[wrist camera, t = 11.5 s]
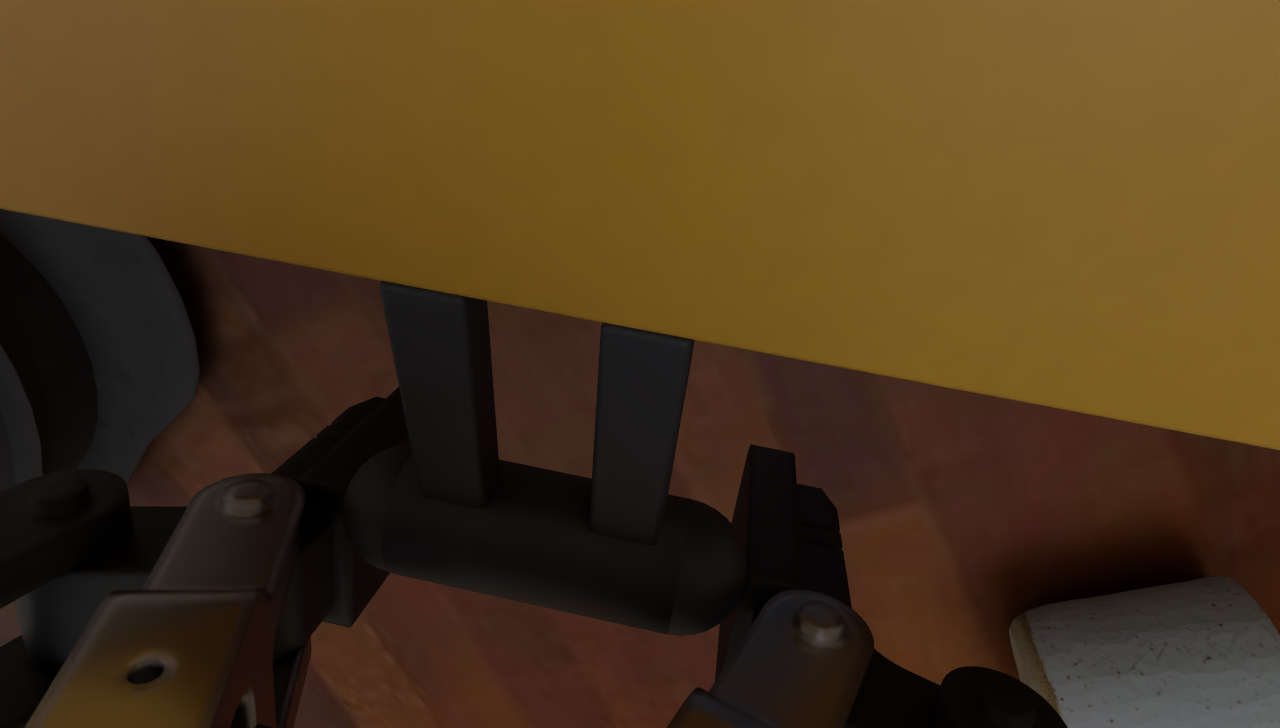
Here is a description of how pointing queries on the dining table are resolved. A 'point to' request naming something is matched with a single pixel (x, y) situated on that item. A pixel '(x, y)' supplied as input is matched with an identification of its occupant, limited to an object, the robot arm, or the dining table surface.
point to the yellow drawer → (690, 221)
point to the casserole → (86, 348)
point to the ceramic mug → (1154, 658)
